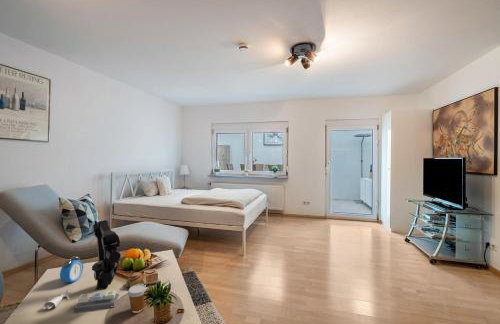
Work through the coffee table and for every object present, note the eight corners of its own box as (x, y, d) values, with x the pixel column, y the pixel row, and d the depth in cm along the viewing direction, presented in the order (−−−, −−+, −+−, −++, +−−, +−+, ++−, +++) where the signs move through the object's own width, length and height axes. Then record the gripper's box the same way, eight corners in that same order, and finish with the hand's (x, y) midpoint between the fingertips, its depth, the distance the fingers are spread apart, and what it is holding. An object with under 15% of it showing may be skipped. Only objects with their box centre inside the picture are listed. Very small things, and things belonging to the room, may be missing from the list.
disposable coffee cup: (150, 310, 133) (150, 288, 132) (131, 318, 126) (131, 295, 126) (143, 302, 140) (143, 281, 139) (125, 309, 133) (125, 288, 133)
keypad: (81, 300, 140) (81, 296, 140) (118, 295, 145) (118, 291, 145) (73, 312, 130) (73, 308, 130) (113, 307, 135) (113, 302, 135)
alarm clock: (68, 286, 154) (68, 263, 153) (59, 286, 154) (58, 262, 153) (83, 275, 167) (83, 254, 166) (74, 275, 167) (74, 253, 166)
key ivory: (81, 298, 137) (81, 294, 137) (90, 297, 138) (90, 293, 138) (78, 303, 133) (77, 298, 133) (87, 301, 134) (87, 297, 134)
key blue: (94, 296, 139) (94, 292, 139) (103, 295, 140) (103, 291, 140) (91, 301, 135) (91, 297, 135) (100, 300, 136) (100, 296, 136)
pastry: (124, 283, 159) (124, 271, 158) (148, 276, 168) (148, 265, 167) (128, 293, 148) (128, 280, 148) (154, 285, 157) (154, 273, 157)
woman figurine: (34, 304, 129) (58, 287, 147) (33, 313, 129) (58, 295, 147) (57, 304, 130) (79, 287, 148) (57, 312, 129) (78, 294, 147)
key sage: (107, 295, 141) (107, 291, 141) (115, 293, 142) (115, 290, 142) (104, 299, 137) (104, 295, 136) (113, 298, 138) (113, 294, 138)
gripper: (99, 250, 145) (99, 276, 146) (87, 265, 127) (87, 294, 128) (120, 248, 148) (120, 274, 149) (111, 263, 130) (111, 291, 131)
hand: (110, 283), depth 139 cm, fingers open, 3 cm apart
